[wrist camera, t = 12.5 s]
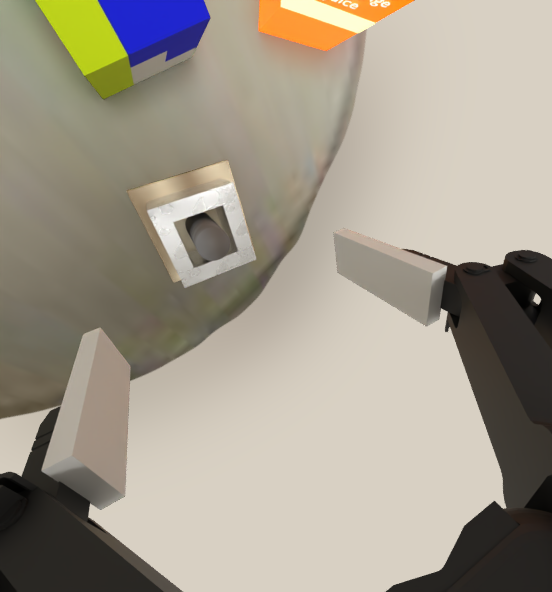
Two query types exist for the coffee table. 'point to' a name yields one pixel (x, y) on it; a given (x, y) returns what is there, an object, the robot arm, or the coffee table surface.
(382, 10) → the orange juice
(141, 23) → the puzzle toy
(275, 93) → the coffee table surface
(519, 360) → the robot arm
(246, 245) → the frame
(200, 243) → the shaft block
